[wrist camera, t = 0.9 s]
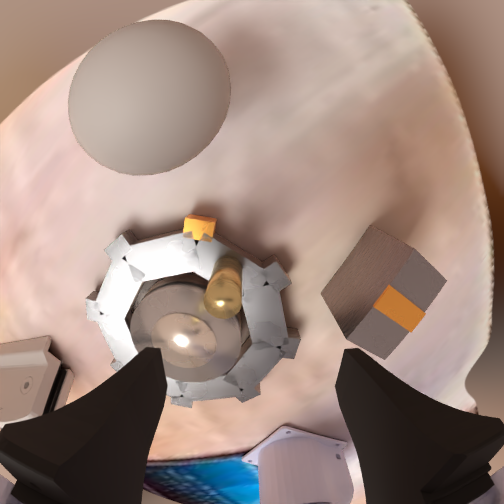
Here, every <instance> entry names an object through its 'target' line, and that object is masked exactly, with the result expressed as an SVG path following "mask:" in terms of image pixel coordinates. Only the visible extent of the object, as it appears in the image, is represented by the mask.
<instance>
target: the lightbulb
mask: <svg viewBox="0 0 504 504" xmlns="http://www.w3.org/2000/svg"><path fill="white" fill-rule="evenodd" d="M230 94H231V85H230V78H229V72H228V68H227V65H226V63H225V60H224V58H223V56H222V54H221V53H220V52H219V50H218V49H217V48H216V46H215V45H214V44H213V43H212V42H211V41H210V40H209V39H208V38H207V37H206V36H204V35H203V34H202V33H201V32H199V31H197V30H195V29H193V28H191V27H189V26H187V25H185V24H182V23H179V22H175V21H170V20H148V21H142V22H136V23H133V24H130V25H127V26H124V27H122V28H120V29H118V30H116V31H114V32H112V33H110V34H109V35H108V36H106V37H105V38H103V39H102V40H101V41H99V42H98V43H97V44H96V45H95V46H94V47H93V48H92V49H91V50H90V51H89V52H88V54H87V55H86V56H85V58H84V59H83V61H82V62H81V63H80V65H79V67H78V69H77V71H76V73H75V75H74V77H73V80H72V84H71V87H70V91H69V98H68V112H69V120H70V124H71V128H72V132H73V134H74V136H75V138H76V140H77V142H78V143H79V145H80V146H81V147H82V148H83V149H84V151H85V152H86V153H87V154H88V155H89V156H90V157H91V158H92V159H94V160H95V161H96V162H98V163H99V164H100V165H102V166H104V167H107V168H109V169H111V170H114V171H116V172H118V173H123V174H128V175H154V174H158V173H163V172H167V171H170V170H172V169H175V168H177V167H179V166H182V165H184V164H185V163H187V162H188V161H190V160H191V159H193V158H194V157H196V156H197V155H198V154H199V153H200V152H201V151H203V150H204V149H205V148H206V147H207V146H208V145H209V144H210V142H211V141H212V140H213V138H214V137H215V136H216V134H217V133H218V132H219V130H220V128H221V126H222V124H223V122H224V120H225V118H226V115H227V111H228V108H229V104H230Z"/></svg>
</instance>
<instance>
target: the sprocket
mask: <svg viewBox="0 0 504 504" xmlns="http://www.w3.org/2000/svg"><path fill="white" fill-rule="evenodd" d="M216 222H217V219H216V218H210V217H204V216H198V215H192V214H189V215H188V216H187V217H186V218H185V222H184V229H181V230H177V231H173V232H168V233H164V234H160V235H156V236H152V237H148V238H144V239H140V240H137V239H136V238H135V236H134V235H133V233H132V232H131V231H130V230H128V231H126V232H125V233H123V234H121V235H120V236H119V237H118V238H117V239H116V240H115V241H113V242H112V243H111V244H110V245H109V246H108V247H107V248H106V249H105V250H104V251H105V252H106V253H107V255H108V256H109V257H110V259H111V260H112V262H111V264H110V267H109V269H108V271H107V274H106V276H105V279H104V281H103V284H102V286H101V289H100V291H99V292H96V291H93V292H92V293H91V294H90V295H89V296H88V297H87V298H86V311H87V319H88V320H91V321H95V322H97V323H98V325H99V327H100V329H101V331H102V334H103V336H104V338H105V340H106V342H107V344H108V346H109V348H110V350H111V352H112V354H113V356H114V359H113V361H112V363H111V364H110V365H111V366H112V367H113V369H114V370H115V371H116V372H117V371H119V370H120V369H121V368H122V367H123V366H125V365H126V364H127V363H128V362H129V361H130V360H131V359H133V358H134V357H135V356H136V355H137V354H138V352H137V350H136V348H135V347H134V344H133V342H132V338H131V332H130V324H131V319H132V316H133V315H132V312H131V309H132V306H133V304H134V302H135V300H136V298H137V296H138V294H139V292H140V290H141V288H142V286H143V284H144V282H145V281H148V280H153V279H158V278H163V277H168V276H173V275H178V274H183V273H188V272H192V271H193V272H195V273H196V274H198V275H200V276H201V277H203V278H205V279H207V280H208V281H209V283H208V286H207V289H206V293H205V296H204V306H205V309H206V310H207V312H208V313H209V314H211V315H212V316H214V317H216V318H219V319H228V318H231V317H233V316H235V315H236V314H237V313H238V312H239V311H240V309H241V305H243V309H244V313H245V317H246V321H247V324H248V328H249V332H250V337H249V338H248V339H247V341H246V342H245V343H244V344H243V346H242V347H241V350H240V354H239V357H238V359H237V361H236V362H235V364H234V365H233V367H232V368H231V369H230V370H229V371H227V372H226V373H225V374H223V375H221V376H220V377H218V378H215V379H213V380H209V381H205V382H183V381H178V380H174V379H171V378H169V377H166V380H167V385H168V387H167V392H166V395H168V396H170V397H171V404H174V405H179V406H184V407H189V408H192V404H193V401H203V400H213V399H222V398H230V397H236V398H237V399H238V400H239V401H241V402H242V403H243V402H245V401H247V400H249V399H252V398H254V397H256V396H258V395H260V383H259V382H260V381H261V380H262V379H263V378H264V377H265V376H266V375H267V374H268V373H269V372H270V371H271V370H272V368H273V367H274V366H275V365H276V364H277V363H278V362H279V361H280V360H281V358H290V359H294V358H295V355H296V352H297V349H298V346H299V343H300V340H301V339H300V335H299V332H298V329H295V328H287V327H286V323H285V318H284V312H283V307H282V301H281V296H280V291H281V290H282V289H284V288H285V287H287V286H288V285H290V284H292V283H291V280H290V278H289V275H288V274H287V272H286V271H285V270H284V268H283V267H282V265H281V264H280V262H279V261H278V259H277V258H276V256H275V255H273V256H271V257H270V258H268V259H266V260H265V261H263V262H262V261H260V260H259V259H257V258H255V257H254V256H252V255H250V254H249V253H247V252H246V251H244V250H242V249H241V248H239V247H238V246H236V245H234V244H233V243H231V242H229V241H228V240H226V239H225V238H223V237H221V236H220V235H218V234H216V233H215V228H216ZM199 240H200V241H199Z"/></svg>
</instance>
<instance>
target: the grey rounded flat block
mask: <svg viewBox="0 0 504 504" xmlns="http://www.w3.org/2000/svg"><path fill="white" fill-rule="evenodd" d="M50 343H51V338H50V337H49V336H45V337H39V338H34V339H28V340H22V341H16V342H10V343H4V344H0V429H1V430H2V428H3V427H4V425H5V424H9V423H14V422H19V421H23V420H28V419H31V418H35V417H38V416H41V415H44V414H47V413H49V412H52V411H55V410H57V409H59V408H61V407H63V406H65V404H66V401H67V398H68V395H69V392H70V389H71V386H72V383H73V380H74V377H75V376H74V374H73V372H72V371H71V370H70V369H61V366H60V364H61V361H60V360H58V359H57V358H56V357H55V356H53V355H52V354H51V353H49V352H48V349H49V346H50Z"/></svg>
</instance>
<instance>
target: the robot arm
mask: <svg viewBox="0 0 504 504" xmlns="http://www.w3.org/2000/svg"><path fill="white" fill-rule="evenodd" d="M167 387H168V385H167V380H166V375H165V370H164V365H163V359H162V354H161V348H153V347H145V348H144V349H143V350H142V351H141V352H139V353H138V354H137V355H136V356H135V357H134V358H133V359H131V360H130V361H129V362H128V363H127V364H126V365H125V366H123V367H122V368H121V369H120V370H119V371H117V372H116V373H115V374H114V375H113V376H111V377H110V378H109V379H107V380H106V381H105V382H103V383H102V384H101V385H99V386H98V387H97V388H95V389H94V390H92V391H91V392H89V393H87V394H86V395H84V396H82V397H81V398H79V399H77V400H76V401H74V402H72V403H70V404H67V405H65V406H63V407H61V408H59V409H57V410H55V411H52V412H49V413H47V414H44V415H41V416H38V417H35V418H31V419H28V420H23V421H19V422H14V423H9V424H5V425H4V427H3V428H2V430H1V431H0V463H1V464H2V465H3V466H4V467H5V468H6V469H7V470H8V471H9V472H10V473H11V474H12V475H13V476H14V477H15V478H16V479H17V481H16V483H15V485H14V484H13V483H12V482H10V481H9V480H8V479H6V478H4V477H3V476H2V475H0V504H141V501H142V491H143V483H144V476H145V470H146V464H147V458H148V454H149V451H150V447H151V444H152V441H153V438H154V435H155V432H156V429H157V426H158V423H159V420H160V417H161V414H162V411H163V407H164V403H165V398H166V392H167ZM335 388H336V393H337V397H338V401H339V406H340V409H341V411H342V414H343V417H344V419H345V422H346V424H347V427H348V430H349V432H350V435H351V437H352V440H353V443H354V445H355V448H356V451H357V455H358V459H359V463H360V467H361V472H362V477H363V483H364V488H365V495H366V503H367V504H504V466H503V467H502V468H501V469H499V470H498V471H496V472H495V473H494V474H493V475H492V476H490V475H489V474H488V471H490V470H491V466H490V465H489V463H488V462H489V461H490V460H491V459H492V458H493V457H494V456H495V454H496V453H497V452H498V451H499V450H500V449H501V448H502V446H503V445H504V424H503V422H502V421H501V420H500V419H499V418H493V417H487V416H481V415H476V414H473V413H469V412H465V411H462V410H459V409H456V408H453V407H450V406H448V405H445V404H443V403H440V402H438V401H436V400H434V399H432V398H430V397H428V396H426V395H424V394H422V393H420V392H419V391H417V390H415V389H414V388H412V387H411V386H409V385H408V384H406V383H404V382H403V381H401V380H400V379H399V378H397V377H396V376H394V375H393V374H392V373H390V372H389V371H388V370H386V369H385V368H384V367H382V366H381V365H380V364H379V363H377V362H376V361H375V360H374V359H372V358H371V357H370V356H368V355H367V354H366V353H365V352H363V351H362V350H360V349H359V348H353V349H344V353H343V357H342V362H341V366H340V369H339V373H338V377H337V381H336V384H335ZM346 446H347V442H344V441H340V440H336V439H331V438H327V437H323V436H320V435H316V434H312V433H309V432H305V431H302V430H298V429H295V428H292V427H288V426H282V427H280V428H279V429H278V430H277V431H275V432H274V433H273V434H272V435H270V436H269V437H268V438H267V439H265V440H264V441H263V442H262V443H260V444H259V445H258V446H256V447H255V448H254V449H252V450H251V451H250V452H248V453H247V454H246V455H244V456H243V457H242V461H244V462H247V463H251V464H255V465H258V473H259V492H260V504H350V503H351V501H352V498H353V492H354V487H353V483H352V479H351V476H350V473H349V469H348V466H347V463H346V459H345V456H344V453H343V450H342V449H344V448H345V447H346Z"/></svg>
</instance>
